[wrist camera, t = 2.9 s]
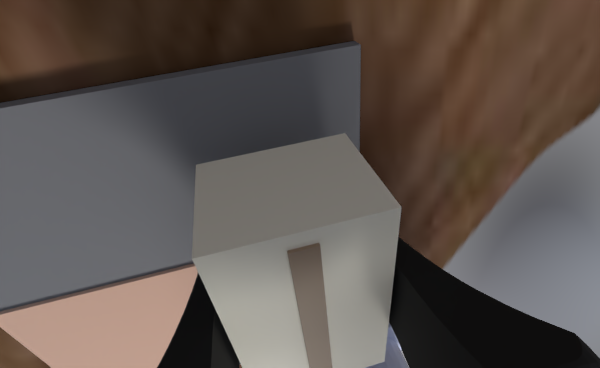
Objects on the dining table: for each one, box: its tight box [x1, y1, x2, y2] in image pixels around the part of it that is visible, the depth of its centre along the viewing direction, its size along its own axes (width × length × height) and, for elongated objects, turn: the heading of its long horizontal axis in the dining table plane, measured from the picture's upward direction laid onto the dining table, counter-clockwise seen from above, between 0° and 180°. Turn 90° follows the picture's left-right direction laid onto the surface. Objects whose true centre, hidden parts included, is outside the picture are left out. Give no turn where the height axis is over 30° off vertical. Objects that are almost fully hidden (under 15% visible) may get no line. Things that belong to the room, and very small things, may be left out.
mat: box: [0, 41, 361, 368], centre depth 17 cm, size 20×18×1 cm
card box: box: [192, 133, 401, 368], centre depth 11 cm, size 8×5×4 cm, turn 6°
